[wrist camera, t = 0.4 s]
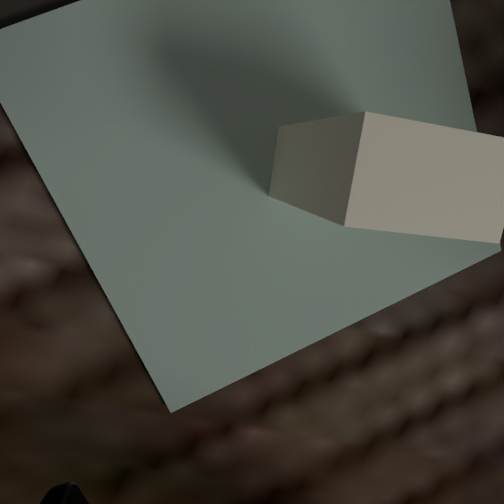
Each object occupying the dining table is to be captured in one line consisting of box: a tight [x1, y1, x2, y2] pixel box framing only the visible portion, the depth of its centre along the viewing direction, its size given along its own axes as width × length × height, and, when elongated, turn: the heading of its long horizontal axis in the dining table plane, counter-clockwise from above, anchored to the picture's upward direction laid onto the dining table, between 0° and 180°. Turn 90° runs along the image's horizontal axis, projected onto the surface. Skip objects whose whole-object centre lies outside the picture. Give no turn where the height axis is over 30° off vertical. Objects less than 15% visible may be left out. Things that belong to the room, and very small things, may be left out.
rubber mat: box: [0, 0, 501, 413], centre depth 22 cm, size 20×22×1 cm
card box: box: [269, 111, 504, 244], centre depth 18 cm, size 4×6×9 cm, turn 82°
